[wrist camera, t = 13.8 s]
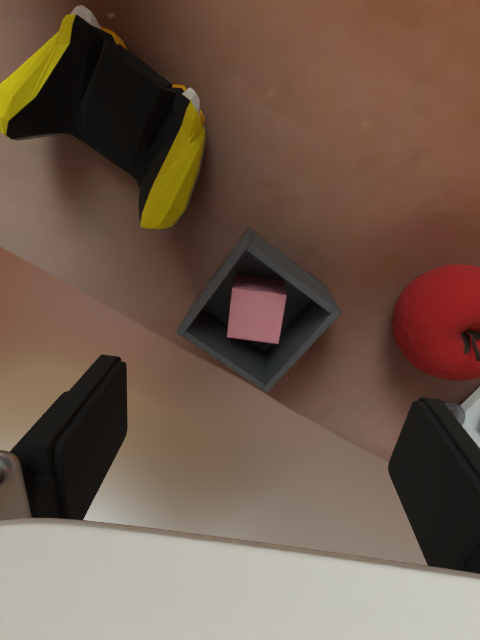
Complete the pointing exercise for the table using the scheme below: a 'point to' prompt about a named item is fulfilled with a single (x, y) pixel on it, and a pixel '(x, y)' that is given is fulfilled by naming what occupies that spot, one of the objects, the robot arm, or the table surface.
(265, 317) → the pink block
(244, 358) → the grey bin
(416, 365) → the apple
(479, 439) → the toy car
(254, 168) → the table surface
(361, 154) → the table surface
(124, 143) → the gaming controller
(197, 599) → the robot arm
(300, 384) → the table surface
